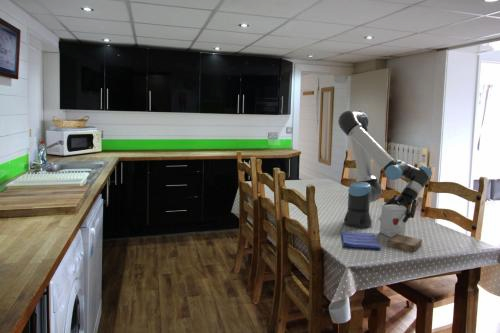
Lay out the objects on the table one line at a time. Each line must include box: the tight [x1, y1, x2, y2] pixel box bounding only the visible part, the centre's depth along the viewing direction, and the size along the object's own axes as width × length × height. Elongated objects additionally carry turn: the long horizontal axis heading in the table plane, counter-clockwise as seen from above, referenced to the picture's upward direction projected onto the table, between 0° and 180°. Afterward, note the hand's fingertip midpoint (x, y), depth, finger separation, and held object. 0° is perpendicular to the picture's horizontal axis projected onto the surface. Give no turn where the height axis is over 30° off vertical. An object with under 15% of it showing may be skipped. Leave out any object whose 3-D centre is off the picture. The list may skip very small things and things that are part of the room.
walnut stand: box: [387, 234, 423, 253], centre depth 183 cm, size 12×12×3 cm
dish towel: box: [340, 229, 382, 251], centre depth 189 cm, size 17×24×3 cm
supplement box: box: [379, 204, 407, 238], centre depth 199 cm, size 9×9×15 cm
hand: (389, 223), depth 198 cm, fingers open, 11 cm apart
